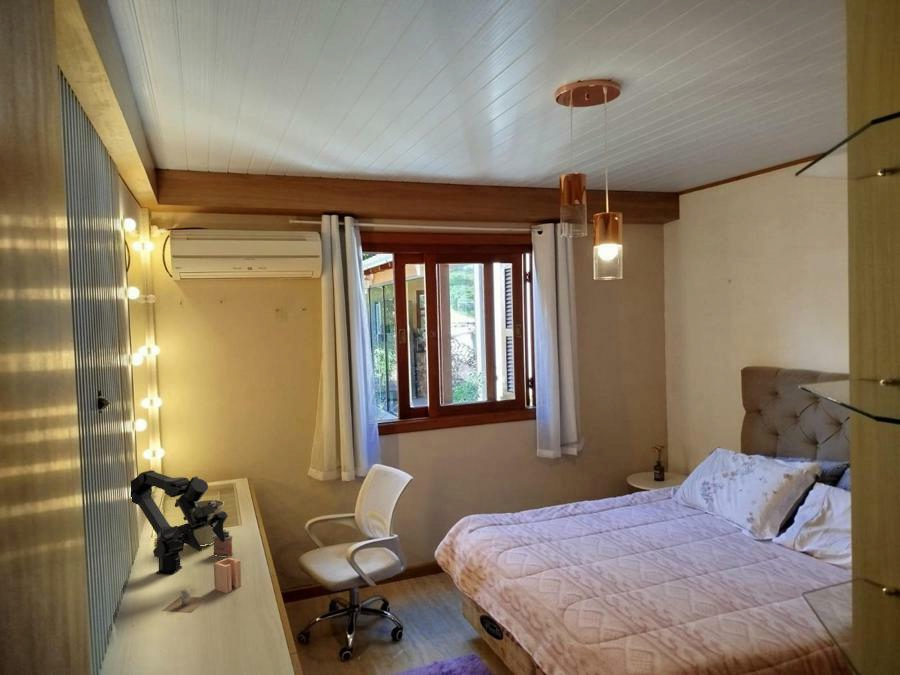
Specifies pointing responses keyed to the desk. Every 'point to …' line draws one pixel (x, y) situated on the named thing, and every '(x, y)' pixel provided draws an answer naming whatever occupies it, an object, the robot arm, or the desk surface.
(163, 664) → the desk surface
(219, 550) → the perfume bottle
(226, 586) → the c link
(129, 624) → the desk surface
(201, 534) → the plant pot
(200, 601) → the stand
